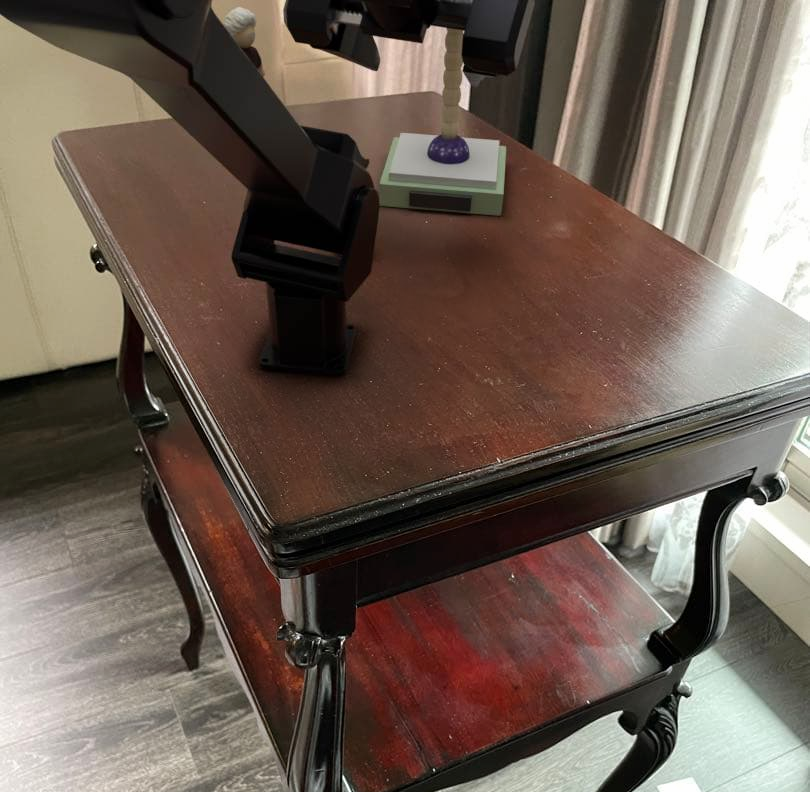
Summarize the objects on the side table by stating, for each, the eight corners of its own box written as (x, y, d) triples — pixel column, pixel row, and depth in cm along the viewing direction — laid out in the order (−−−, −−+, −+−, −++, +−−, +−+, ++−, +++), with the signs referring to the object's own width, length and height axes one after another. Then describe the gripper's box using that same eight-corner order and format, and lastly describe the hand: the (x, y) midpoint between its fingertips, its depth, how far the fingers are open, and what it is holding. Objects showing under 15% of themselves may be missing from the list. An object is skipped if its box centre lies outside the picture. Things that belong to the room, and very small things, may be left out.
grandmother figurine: (257, 154, 90) (245, 19, 81) (223, 150, 90) (207, 15, 81) (279, 128, 95) (270, -1, 86) (246, 124, 96) (234, -5, 87)
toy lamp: (464, 168, 82) (481, -34, 70) (417, 162, 82) (427, -39, 71) (472, 150, 85) (490, -46, 73) (427, 144, 86) (438, -51, 74)
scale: (500, 218, 81) (504, 187, 79) (378, 208, 82) (378, 177, 80) (503, 167, 90) (507, 138, 88) (393, 158, 91) (393, 128, 88)
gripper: (550, -162, 55) (558, -4, 70) (290, -187, 59) (352, -32, 74) (502, 6, 55) (521, 126, 70) (248, -30, 59) (318, 91, 74)
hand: (426, 73), depth 72 cm, fingers open, 9 cm apart
